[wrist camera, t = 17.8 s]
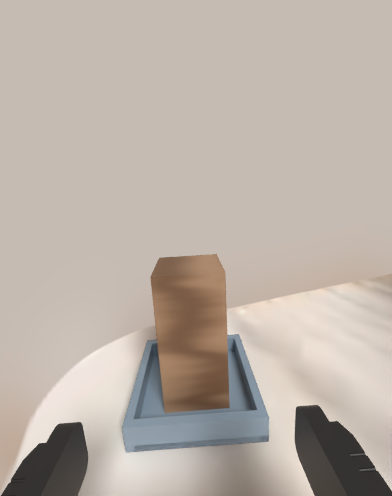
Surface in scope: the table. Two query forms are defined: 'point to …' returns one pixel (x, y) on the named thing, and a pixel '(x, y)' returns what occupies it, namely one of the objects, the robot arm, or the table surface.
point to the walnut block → (191, 332)
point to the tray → (195, 422)
